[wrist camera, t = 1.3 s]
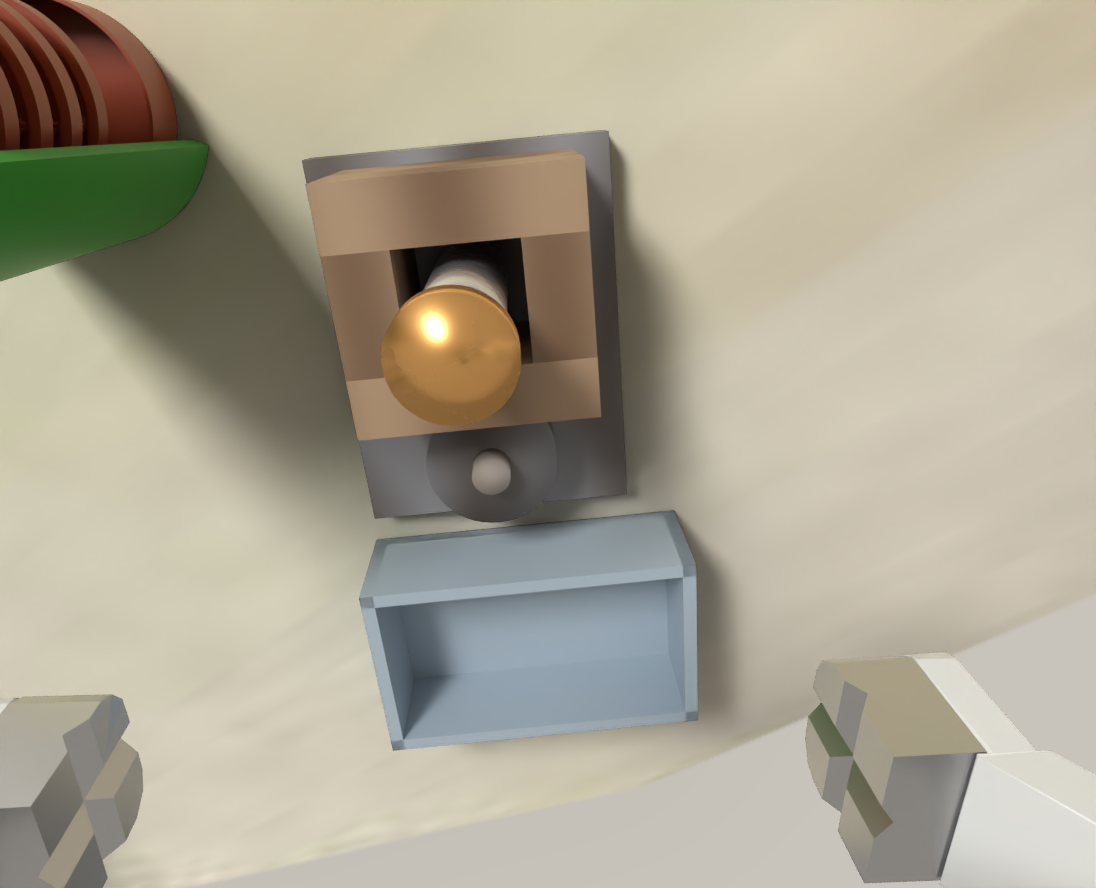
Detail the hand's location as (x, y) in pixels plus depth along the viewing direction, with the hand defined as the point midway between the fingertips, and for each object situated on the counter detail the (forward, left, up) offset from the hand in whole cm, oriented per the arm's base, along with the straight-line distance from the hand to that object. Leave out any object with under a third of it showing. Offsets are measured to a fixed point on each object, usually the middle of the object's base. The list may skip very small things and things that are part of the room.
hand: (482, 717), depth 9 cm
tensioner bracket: (+1, +3, -27) cm, 27 cm away
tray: (0, +17, -27) cm, 32 cm away
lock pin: (+1, 0, -25) cm, 25 cm away
